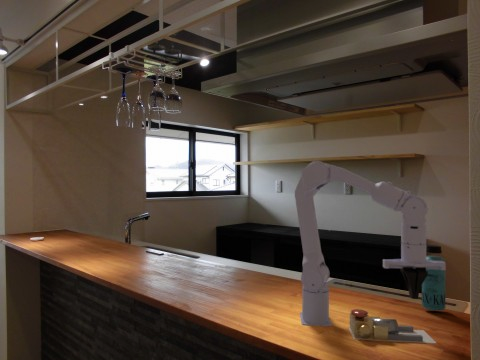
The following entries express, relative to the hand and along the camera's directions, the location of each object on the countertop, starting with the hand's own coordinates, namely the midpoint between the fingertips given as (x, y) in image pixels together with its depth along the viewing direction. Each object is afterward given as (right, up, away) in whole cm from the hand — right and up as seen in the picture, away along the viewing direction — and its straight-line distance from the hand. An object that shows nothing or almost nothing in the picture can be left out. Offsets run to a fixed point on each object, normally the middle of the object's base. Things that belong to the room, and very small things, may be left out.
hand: (413, 297), depth 92 cm
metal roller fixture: (-7, -9, -1) cm, 12 cm away
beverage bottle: (+14, -10, +17) cm, 25 cm away
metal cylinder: (-8, -9, 0) cm, 12 cm away
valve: (-12, -9, 0) cm, 15 cm away
